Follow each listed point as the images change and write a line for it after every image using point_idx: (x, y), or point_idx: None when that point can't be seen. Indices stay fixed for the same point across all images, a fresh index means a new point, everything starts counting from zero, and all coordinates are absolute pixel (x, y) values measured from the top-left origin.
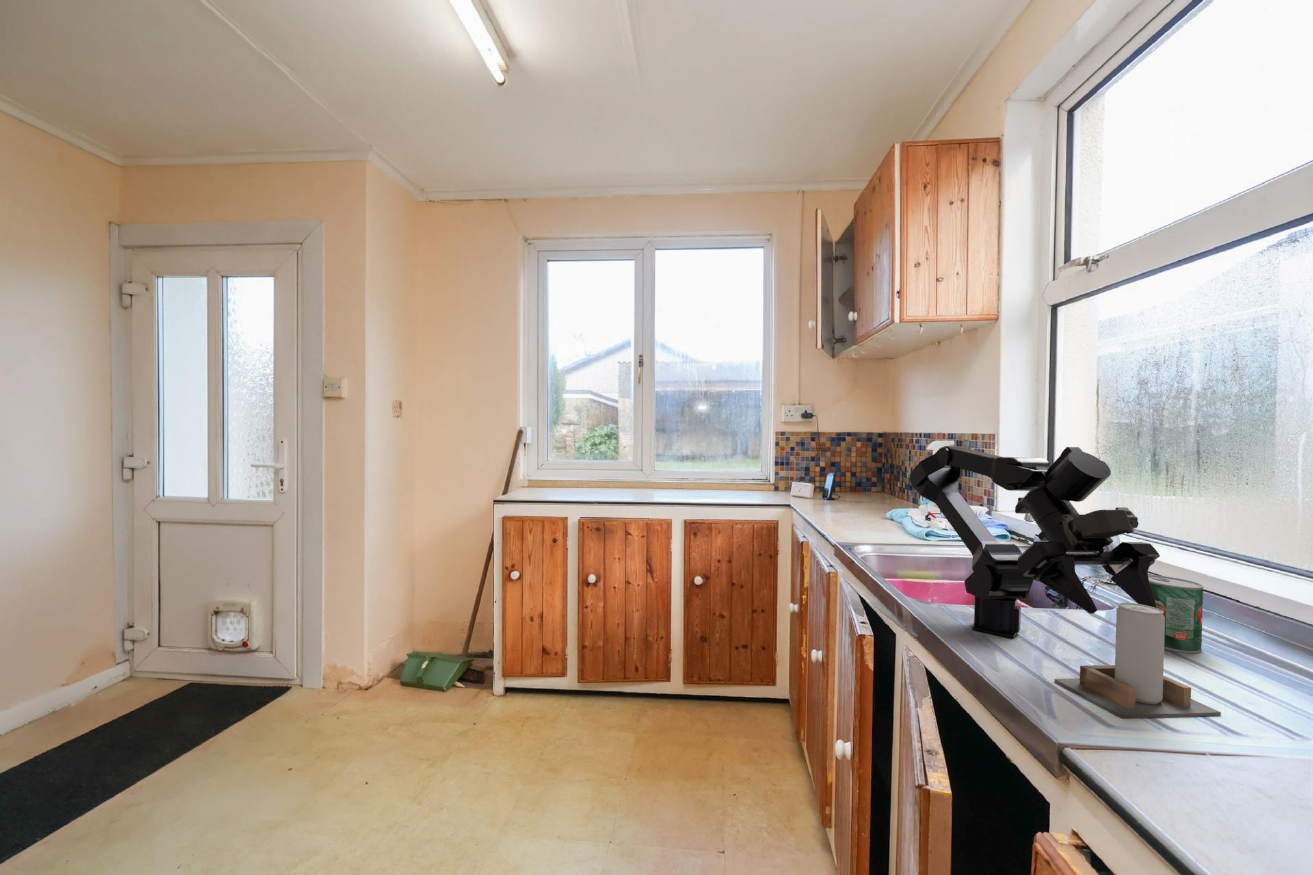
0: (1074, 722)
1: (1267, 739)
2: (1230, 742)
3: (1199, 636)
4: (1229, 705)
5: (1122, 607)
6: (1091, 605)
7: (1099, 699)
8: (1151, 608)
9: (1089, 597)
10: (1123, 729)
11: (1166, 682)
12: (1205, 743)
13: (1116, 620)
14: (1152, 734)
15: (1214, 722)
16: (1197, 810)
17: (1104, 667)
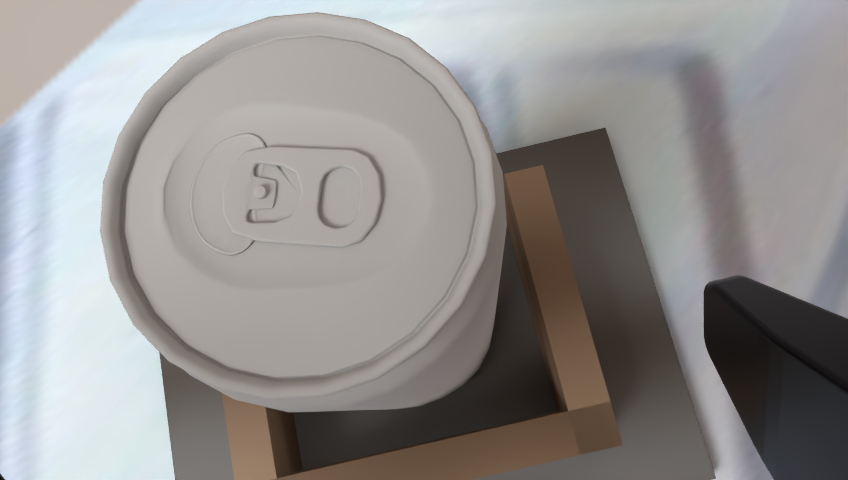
0: (825, 65)
1: (153, 81)
2: None
3: None
4: (17, 351)
5: (494, 183)
6: (778, 296)
7: (613, 260)
8: (147, 240)
9: (816, 346)
10: (653, 49)
11: None
12: (411, 9)
13: (482, 318)
14: (563, 34)
15: None
16: None
17: (486, 441)
